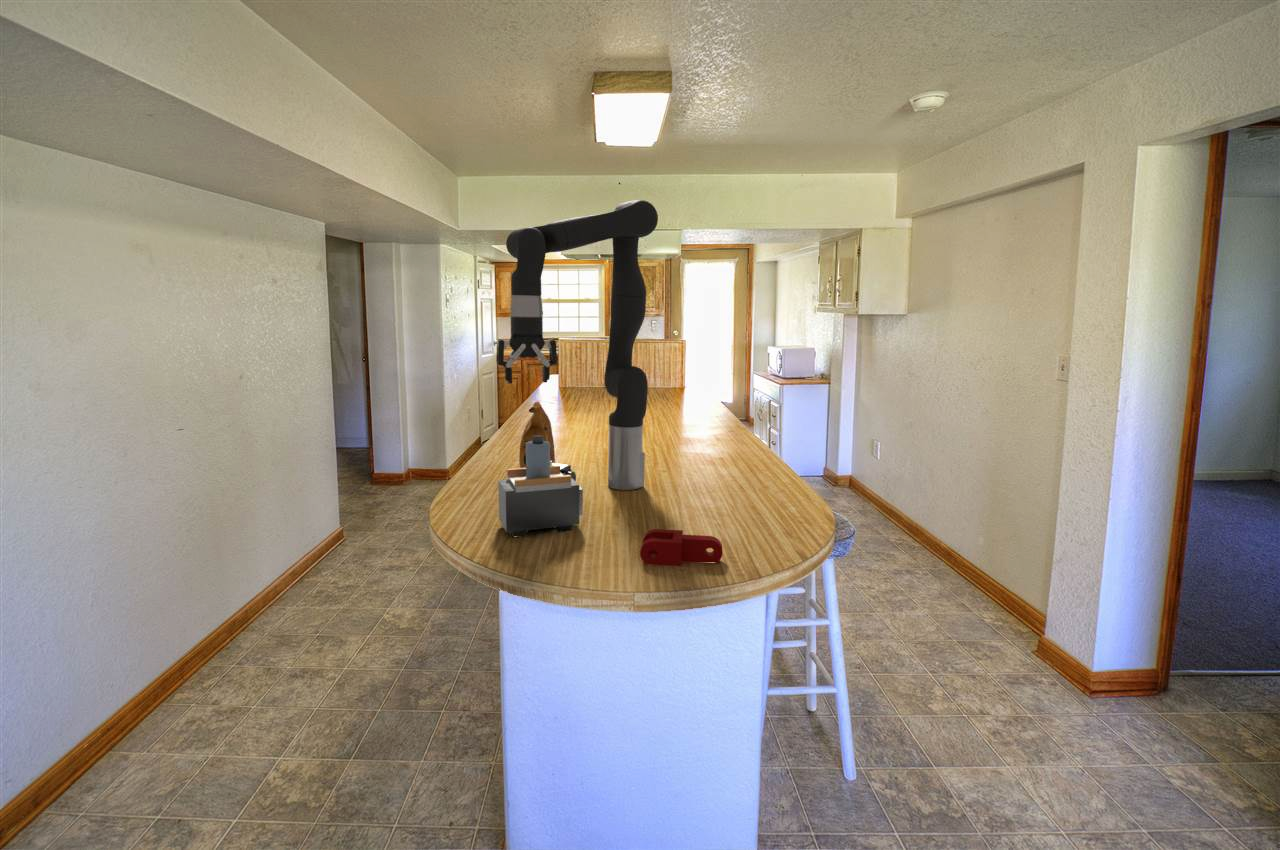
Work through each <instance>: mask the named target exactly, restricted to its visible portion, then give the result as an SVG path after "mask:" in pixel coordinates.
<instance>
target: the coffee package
mask: <svg viewBox="0 0 1280 850" xmlns="http://www.w3.org/2000/svg"><path fill="white" fill-rule="evenodd" d="M528 413H531V414H532V415H531V416H530V418H529V420H528V421H527V422H526V425H525V427H524V430H523V433H522V436H521V440H520V445H519V456H518V457H519V459H518V460H519V461H518V462H519V468H526V442H529V441H532V436H534V435H542V436H543V441H548V442H550V461H552V463H554V464H556V459H555V458H556V457H555V444H554V436H553V429H552V424H551V423H552V422H551V419H550V418H549V416H548V414H547V413H546V412H545V410H544V408H543V407H542V404H541V403H540V401H535V402H534V403H533V406H531V407H530V408H529V409H528Z"/></svg>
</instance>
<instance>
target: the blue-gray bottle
mask: <svg viewBox="0 0 1280 850" xmlns="http://www.w3.org/2000/svg"><path fill="white" fill-rule="evenodd" d="M538 477H550V442H548V441H543V436H542V435H534V436H532V441H529V442H526V478H538Z"/></svg>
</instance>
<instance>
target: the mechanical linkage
mask: <svg viewBox="0 0 1280 850" xmlns="http://www.w3.org/2000/svg"><path fill="white" fill-rule="evenodd" d="M707 549H712V551H707ZM723 553H724V551H723V544H722V542H721V541H720V540H719V538H717V537H716V536H713V535H701V534H700V535H697V534H684V530H681V529H665V528H664V529H662V528H652V529H649V530H648V531H647V532H645V534H644V535H643V538H642V544H641V547H640V551H639V557H640V559H641V561H642V562H643V563H644V564H645V565H651V566H664V567H665V566H666V567H668V566H669V567H682V562H683V563H694V562H717V563H718V562H719V561H721V559H722V557H723Z"/></svg>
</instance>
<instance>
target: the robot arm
mask: <svg viewBox="0 0 1280 850" xmlns="http://www.w3.org/2000/svg"><path fill="white" fill-rule="evenodd" d="M658 221H659V215H658V212H657V209H656V208H655V206H654V205H653V204H652V203H651V202H649V201H647V200H643V199H635V200H629V201H625V202H622V203H620V204H619V205H617V206H616V207H615V209H614V210H613V211H609V212H605V213H604V212H603V213H598V214H592V215H586V216H585V215H584V216H578V217H577V216H575V217H571V218H566V219H561V220H556V221H552V222H549V223H547V224H544V225H543V224H542V225H537V226H532V227H531V226H529V227H522V228H518V229H516V230H515V229H514V230H513V231H512V232H510V233H509V234H508V237H507V238H506V241H505V246H506V247H505V248H506V249H507V251H508V252H507V253H508V254H509V255H510V256H511V257H512V258H515V259H516V260H517V261H516V268H515V270H514V271H513V272H512V274H511V277H510V280H511V282H510V283H511V284H510V285H511V287H510V290H511V291H510V293H511V297H510V298H511V299H510V339H509V340H507V339H504V340H503V339H498V340H497V343H496V344H497V345H496V364H497V365H499V366H502V367H504V379H505V382H507V384H509V385H510V384H513V368H512V365H514V363H515V362H516V361H517V360H518V358H521V359H526V358H531V359H533V358H534V359H535V358H537V360H539V361H540V363H541V364H542V365H543V366H542V367H541V373H542V375H541V380H542V383H548V381H549V380H550V375H551V374H550V373H551V372H550V371H551V370H550V368H551V366H554V365H557V363H558V355H557V351H558V350H557V341H556V340H555V339H552V338H550V339H547V340H546V339H545V340H544V336H543V335H544V334H543V333H544V332H543V331H544V330H543V329H544V328H543V325H544V324H543V322H544V321H543V319H544V318H543V316H544V311H543V310H544V309H543V301H542V300H543V299H542V275H543V270H544V264H545V260H546V254H548V253H560V252H565V251H569V250H572V249H573V250H574V249H577V248H580V247H581V248H582V247H585V246H588V245H593V244H595V243H599V242H602V241H607V240H611V239H612V254H613V255H612V277H611V280H612V282H611V284H612V285H611V293H610V294H611V297H610V324H609V340H608V349H607V358H606V364H605V370H604V387H605V390H606V391H607V393H608V394H609V395H610V396H611V397H613V398H615V399H617V400H616V409H615V410H614V411H612V412H611V413H610V414H609V416H608V457H607V458H608V461H607V463H608V464H607V465H608V466H607V467H608V468H607V475H608V476H607V486H608V487H609V488H610V489H613V490H619V491H633V490H637V489H640V488H644V487H645V472H646V470H645V464H646V462H645V461H646V453H645V452H643V441H644V440H643V434H644V433H643V431H644V429H643V428H644V419H645V416H646V413H647V407H648V405H647V404H648V403H647V402H648V392H649V391H648V390H649V389H648V388H649V384H648V383H649V382H648V377H647V374H646V372H645V371H644V370H643V369H642V368H640V367H639V366H634V365H633V364H632V363H633V349H634V346H635V345H634V344H635V341H636V339H637V336H638V334H639V331H640V330H641V328H642V325H643V323H644V321H645V317H646V309H647V308H646V307H647V287H646V283H645V280H644V276H643V273H642V271H641V269H640V268H641V267H640V264H639V257H638V255H639V253H638V252H639V240H640V238H645V237H647V236H649V235H651V234H652V233H653V232H654V231H655V230H656V227H657V225H658ZM508 346H509V347H510V348H511V350H512V351H511V352H510V354H509V355H508V357H507V359H506V360H505V359H504V357H505V355H504V354H505V350H506V349H507V348H508ZM545 346H546V349H548V350H549V359H547V358H546V356H545V355H544V353H543V352H542V350H543V348H544V347H545Z"/></svg>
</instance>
